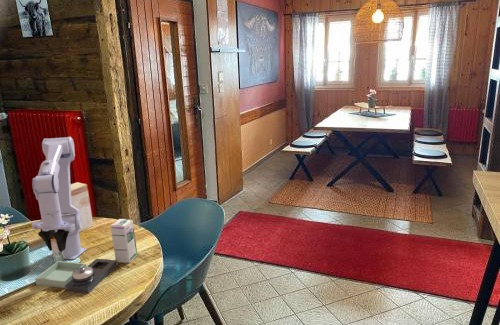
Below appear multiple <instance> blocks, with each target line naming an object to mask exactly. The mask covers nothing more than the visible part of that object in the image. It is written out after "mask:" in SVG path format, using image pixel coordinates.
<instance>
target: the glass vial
mask: <svg viewBox="0 0 500 325" xmlns="http://www.w3.org/2000/svg"><path fill="white" fill-rule="evenodd" d="M50 242H51V247H52V251H51V252H52V256H53V258H52V259H53V262H54V263H56V262H58V261H62V262H63V261H64V260H65V259H64V258H65V257H64V252H63V251H62V252H60V251H59V249H58V244H57V241H56V239H55V237H54V236H52V237H50Z"/></svg>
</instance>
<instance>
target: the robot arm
mask: <svg viewBox="0 0 500 325" xmlns="http://www.w3.org/2000/svg"><path fill="white" fill-rule="evenodd" d="M41 148H42V153H43V154H44V157H45V160H43V161H42V162H41V164H40V166H39V170H38V173H37V175H36V176H35V177H33V178H32V183H31V184H32V190H33V194H34V195H35V199H36V201H38V205H39V206H38V207H39V212H40V217H41V221H34V222H32V223H31V229H32V230H39V232H38V233H37V234H38V236H39V237H40V238H41V239H42V240H43V241H44V244H45V245H46V247H47V248H48V250H49V252H52V247H51V242H50V237H52V236H54V237H55V239H56V241H57V244H58V249H59V251H60V252H62V251H63V252H64V257H65V258H64V260H75V259H77V258H78V257H79V256H80V255H82V254H83V253H84V252H85V251H87V250H88V249H87V248H86V247H82V243H81V238H80V232H79V230H80V229H81V228H82V219H81V214H80V211H79V209H77V208H76V207H74V206H72V200H71V184H72V183H71V169H70V168H71V163H72V162H73V161H75V156H76V153H75V152H76V151H75V150H76V149H75V142H74V138H72V137H71V136H67V137H54V138H53V137H52V138H43V140H42V142H41ZM72 213H74V214H72ZM64 214H71V215H64ZM61 215H63V216H61ZM52 257H53V255H51V258H52Z"/></svg>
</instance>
